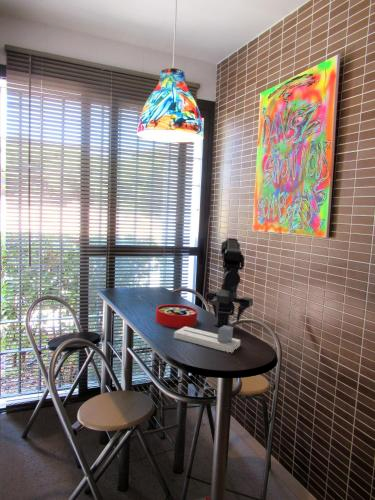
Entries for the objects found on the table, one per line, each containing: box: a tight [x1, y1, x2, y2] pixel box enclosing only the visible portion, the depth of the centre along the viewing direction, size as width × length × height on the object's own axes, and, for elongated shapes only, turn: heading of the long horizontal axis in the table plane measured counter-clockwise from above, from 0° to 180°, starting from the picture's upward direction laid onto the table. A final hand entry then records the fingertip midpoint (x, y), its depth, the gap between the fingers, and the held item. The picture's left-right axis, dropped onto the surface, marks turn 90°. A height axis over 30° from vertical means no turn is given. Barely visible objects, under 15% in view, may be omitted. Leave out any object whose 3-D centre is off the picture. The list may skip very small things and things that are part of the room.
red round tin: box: [155, 303, 198, 329], centre depth 176 cm, size 20×6×20 cm
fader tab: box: [217, 325, 234, 343], centre depth 147 cm, size 6×4×5 cm, turn 152°
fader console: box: [173, 326, 241, 354], centre depth 151 cm, size 10×26×3 cm, turn 62°
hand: (226, 319), depth 146 cm, fingers open, 9 cm apart
